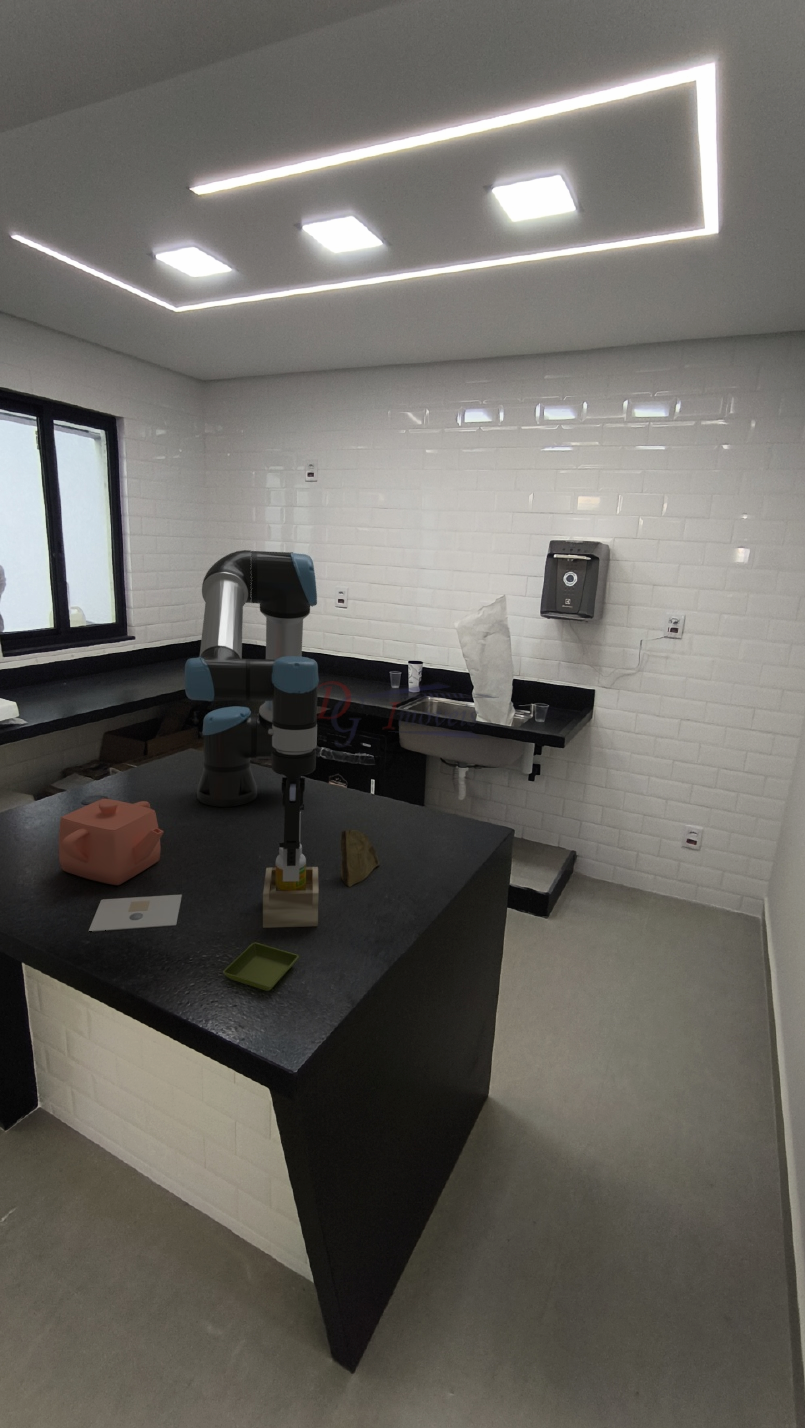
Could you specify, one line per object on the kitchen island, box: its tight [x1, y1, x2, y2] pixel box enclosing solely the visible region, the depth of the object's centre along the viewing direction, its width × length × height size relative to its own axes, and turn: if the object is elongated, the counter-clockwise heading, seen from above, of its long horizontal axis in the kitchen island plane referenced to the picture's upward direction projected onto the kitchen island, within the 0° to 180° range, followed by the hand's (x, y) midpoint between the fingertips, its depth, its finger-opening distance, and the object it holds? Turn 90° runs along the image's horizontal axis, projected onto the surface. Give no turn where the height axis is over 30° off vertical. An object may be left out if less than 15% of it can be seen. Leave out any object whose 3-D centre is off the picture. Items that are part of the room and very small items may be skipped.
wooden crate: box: [262, 866, 320, 929], centre depth 117 cm, size 10×10×6 cm
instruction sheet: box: [88, 894, 183, 932], centre depth 115 cm, size 10×14×1 cm
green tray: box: [222, 942, 300, 992], centre depth 101 cm, size 9×9×2 cm
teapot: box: [58, 798, 165, 886], centre depth 127 cm, size 20×22×14 cm
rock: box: [340, 829, 380, 888], centre depth 132 cm, size 11×9×10 cm
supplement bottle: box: [275, 843, 307, 891], centre depth 115 cm, size 5×5×10 cm
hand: (292, 861), depth 115 cm, fingers open, 13 cm apart
